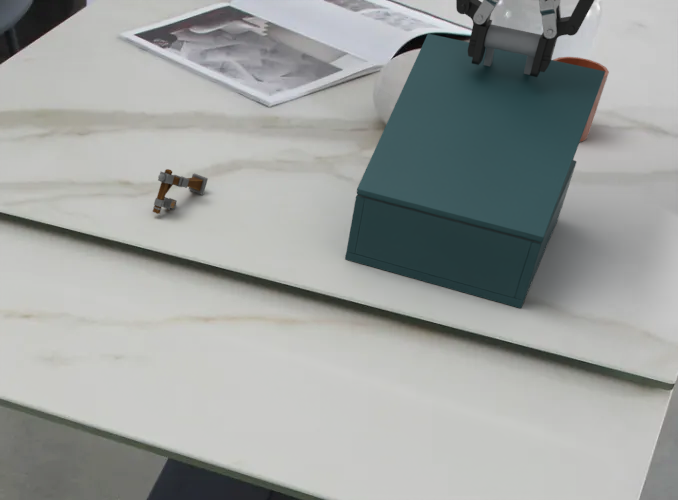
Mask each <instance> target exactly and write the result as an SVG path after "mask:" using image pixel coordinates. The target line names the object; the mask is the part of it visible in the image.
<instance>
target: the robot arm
mask: <svg viewBox="0 0 678 500" xmlns="http://www.w3.org/2000/svg"><path fill="white" fill-rule="evenodd" d="M455 1H456V3H455V5H456V8H455V9H456V12H457V13H458V14H460V15H466V16H467V17H469V18H470V19H471V21H472V29H471V33H470V37H469V41H468V42H469V46H468V56H469V57H473V58H472V64H476V65H479V64H480V63H481V61H482V59H483V57H484V53H485V49H486V47H485V46H484V41H485V37H486V33H487V30H488V28H489V26H490V25H491V24H493V19H491V16H492V13H493V11H494V10H495V9H496V6H497V5H498V4H499V2H500V0H482V1H481V0H455ZM538 3H539V12H540V15H541V23H542V34H540V35H541V37H540V39H539V43H538V46H537V50H536V54H535V58H534V61H533V65H532V69H531V73H530V76H534V77H538V75H539V73H540V71H541V72H545V70H546V69H547V68H548V66H549V64H550V62H551V60H553V55H554V51H555V48H556V44H557V41H558V39H559V37H562V36H571V37H573V36H574V35H576V34H577V33H578V32H579V30H580V28H581V26H582V24H583V22H584V20H585V19H586V17H587V16H588V13H589V11H590V9H591V8H592V6H593V4H594V3H595V0H578V2H577V4H576V5H575V7H574V9H573V11H572V13H571V15H570V16H563V17H562V13H561V0H538Z"/></svg>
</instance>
